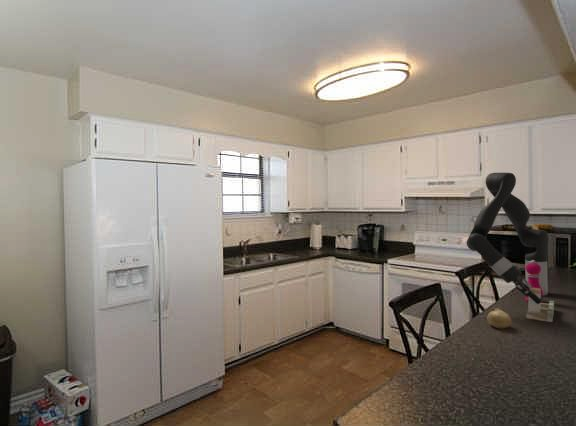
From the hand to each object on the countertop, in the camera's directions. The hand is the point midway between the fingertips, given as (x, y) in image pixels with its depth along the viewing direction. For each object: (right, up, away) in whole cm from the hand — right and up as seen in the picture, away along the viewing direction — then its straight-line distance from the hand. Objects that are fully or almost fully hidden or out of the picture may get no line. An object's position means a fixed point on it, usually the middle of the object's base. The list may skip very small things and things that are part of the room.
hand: (540, 301), depth 142 cm
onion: (-23, -8, -9) cm, 26 cm away
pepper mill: (+13, -6, +21) cm, 26 cm away
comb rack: (+2, -6, +4) cm, 8 cm away
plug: (-1, -4, +1) cm, 5 cm away
